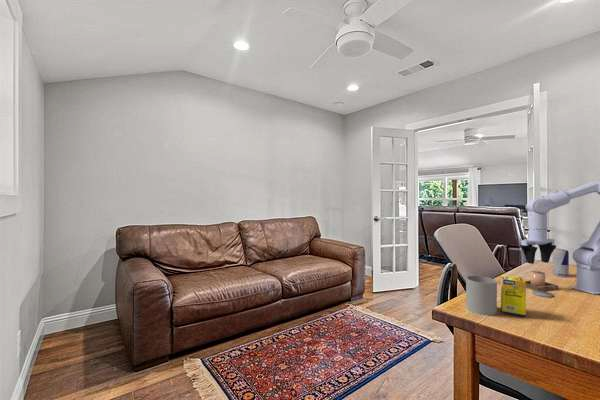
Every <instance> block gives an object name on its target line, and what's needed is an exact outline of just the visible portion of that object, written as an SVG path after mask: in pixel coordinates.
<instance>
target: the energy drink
mask: <svg viewBox="0 0 600 400" xmlns="http://www.w3.org/2000/svg"><path fill="white" fill-rule="evenodd" d="M569 256H570V252H569V249H565V248H555V249H554V251H553V252H552V276H555V277H558V278H559V277H561V278H568V277H569V276H570V275H569V274H570V273H569V271H570V267H569V264H570V262H569V261H570V260H569V259H570V257H569Z"/></svg>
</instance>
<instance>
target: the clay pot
mask: <svg viewBox="0 0 600 400" xmlns="http://www.w3.org/2000/svg"><path fill="white" fill-rule="evenodd" d="M529 277H530V284H531V285H534V286H537V287H539V286H545V282H546V273H545V272H542V271H538V270H531V271H530V276H529Z"/></svg>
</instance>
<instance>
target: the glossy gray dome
mask: <svg viewBox="0 0 600 400" xmlns="http://www.w3.org/2000/svg"><path fill="white" fill-rule="evenodd" d="M531 292H532V293H531V294H533V295H535V296H538V297H541V298H554V297H555V295H554V294H553V293H551V292H549V291H535V290H531Z"/></svg>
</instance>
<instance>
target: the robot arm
mask: <svg viewBox="0 0 600 400" xmlns="http://www.w3.org/2000/svg"><path fill="white" fill-rule="evenodd" d="M592 193H597V194H598V196H600V179H596V180H592V181H590V182H588V183H585V184H582V185H580V186H579V185H578V187H575V188H572V189H570V190H567V191H564V190H552V193H549V194H546V195H540V196H539V198H533V199H530V200H528V201H527V203H526V205H525V209H526V211H527V212H528V238H525V239H521V241H520V243H521V244H520V245H519V248H520V249H521V250H522V252H523V255H524V257H525V260H526V263H527V264H532V265H534V263H535V259H536V252H537V250H538V248H539V253H540V261H541V262H543V263H547V264H549V261H550V260H551V256H552V255H553V251H554V249H557V245H556V244H555V239H553V238H548V213H549V212H550V211H551V210H554V209H557V208H559V207H564V206H566V205H568V204H570V203H571V200H573V199H575V198H579V197H580V198H581V197H583V196H586V195H589V194H592ZM571 258H572V259H573V261H574V262H575V264H576V285H573V286H570V289H574V290H578V291H581V292H586V293H589V294H593V295H600V220H599V221H598V224H597V225H596V227H595V228H594V230H593V232H592V233H591V235H590V237H589V238H588V240H587V241H584V242H583V243H581V244H580V245H579V247H578V248H576V249H575V250H573V252H572V255H571Z"/></svg>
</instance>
